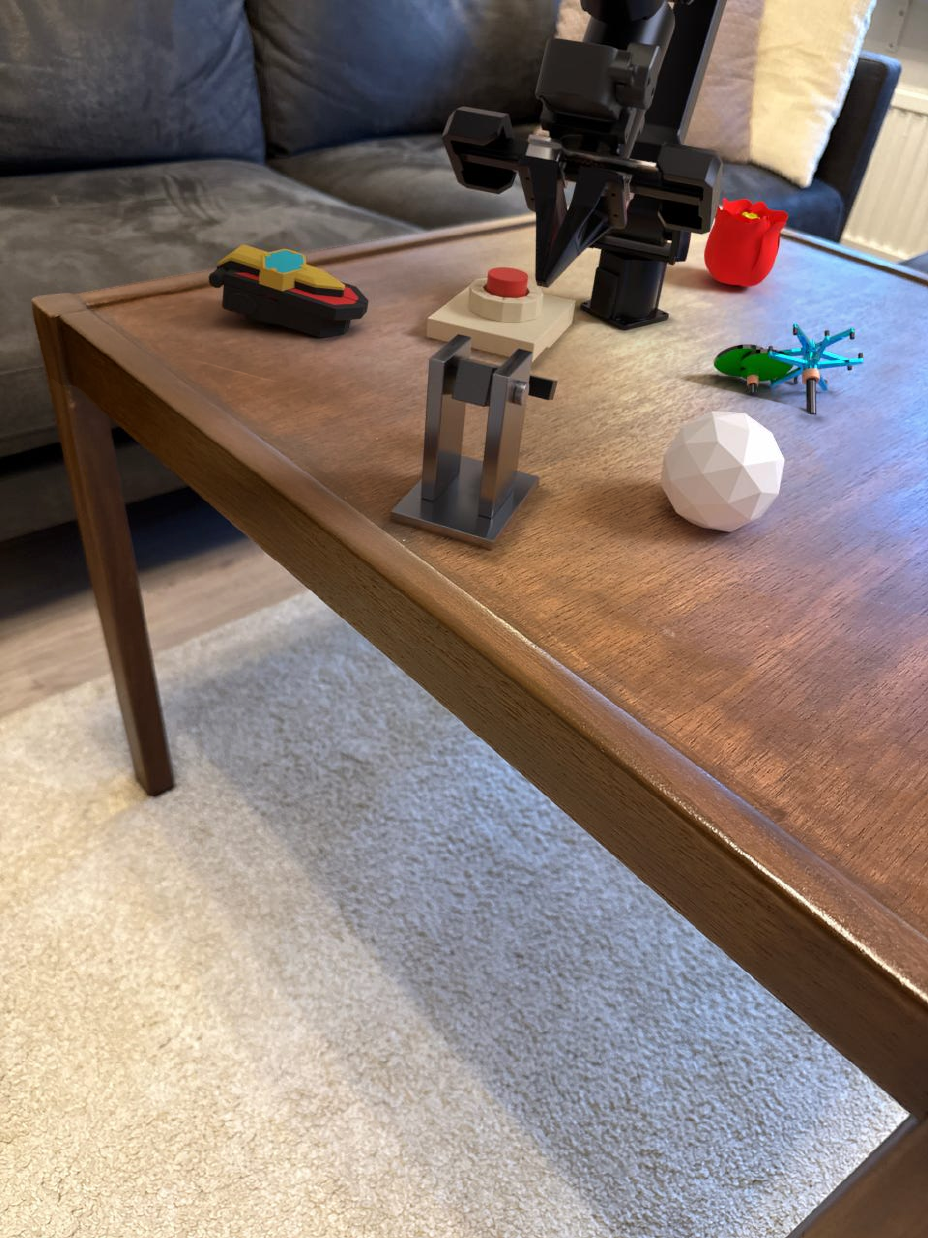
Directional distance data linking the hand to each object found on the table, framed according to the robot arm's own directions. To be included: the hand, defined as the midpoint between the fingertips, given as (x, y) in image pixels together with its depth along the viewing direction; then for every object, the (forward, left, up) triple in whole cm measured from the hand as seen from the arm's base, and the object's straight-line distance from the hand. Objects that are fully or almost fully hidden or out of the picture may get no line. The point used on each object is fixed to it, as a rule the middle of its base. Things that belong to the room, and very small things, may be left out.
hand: (541, 283), depth 64 cm
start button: (-12, -17, -8) cm, 22 cm away
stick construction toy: (-25, +5, -12) cm, 28 cm away
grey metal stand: (+9, +5, -12) cm, 16 cm away
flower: (-44, -16, -12) cm, 49 cm away
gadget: (+4, -27, -12) cm, 30 cm away
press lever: (+6, +4, -6) cm, 9 cm away
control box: (-12, -17, -12) cm, 24 cm away
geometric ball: (-4, +15, -12) cm, 20 cm away
